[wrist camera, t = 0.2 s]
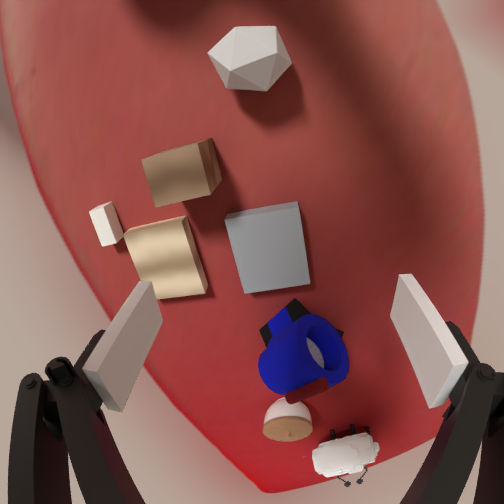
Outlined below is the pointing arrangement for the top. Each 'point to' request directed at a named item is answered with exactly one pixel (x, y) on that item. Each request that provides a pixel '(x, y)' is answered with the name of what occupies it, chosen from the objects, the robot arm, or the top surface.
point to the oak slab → (167, 257)
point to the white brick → (106, 224)
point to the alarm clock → (301, 354)
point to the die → (250, 58)
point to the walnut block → (182, 172)
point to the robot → (345, 454)
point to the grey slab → (269, 247)
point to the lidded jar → (287, 421)
